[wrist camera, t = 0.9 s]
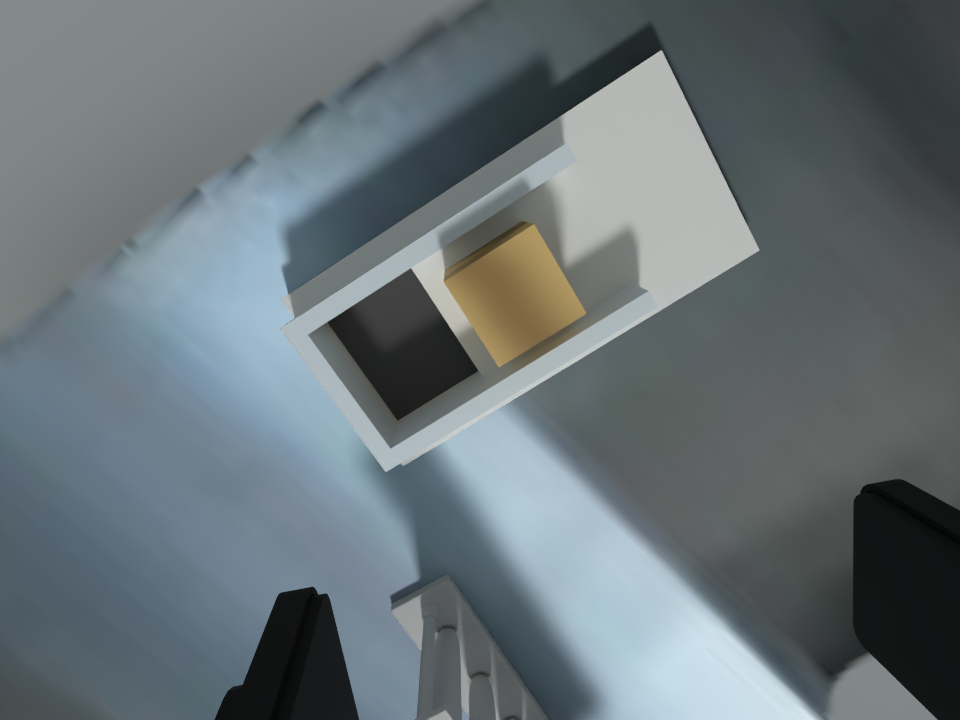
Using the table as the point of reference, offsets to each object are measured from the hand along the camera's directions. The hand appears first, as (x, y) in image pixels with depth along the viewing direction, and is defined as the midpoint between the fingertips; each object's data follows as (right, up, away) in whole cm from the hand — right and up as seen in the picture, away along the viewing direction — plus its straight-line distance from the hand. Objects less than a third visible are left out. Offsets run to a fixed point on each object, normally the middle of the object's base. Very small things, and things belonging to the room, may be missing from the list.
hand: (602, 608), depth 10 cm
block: (-1, +9, +23) cm, 25 cm away
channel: (0, +9, +24) cm, 26 cm away
